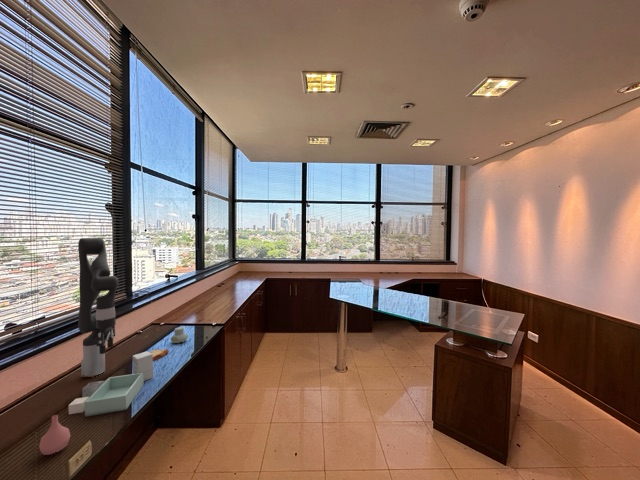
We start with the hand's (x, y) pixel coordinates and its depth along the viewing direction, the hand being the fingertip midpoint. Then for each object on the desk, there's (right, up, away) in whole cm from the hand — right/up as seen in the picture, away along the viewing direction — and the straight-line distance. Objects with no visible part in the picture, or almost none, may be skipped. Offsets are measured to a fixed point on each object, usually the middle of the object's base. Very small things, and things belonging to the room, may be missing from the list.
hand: (106, 350), depth 132 cm
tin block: (-3, -20, -4) cm, 20 cm away
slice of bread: (+1, -20, +36) cm, 41 cm away
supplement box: (+11, -19, +10) cm, 25 cm away
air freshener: (+3, -20, +63) cm, 66 cm away
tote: (+12, -19, -8) cm, 24 cm away
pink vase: (+14, -19, -39) cm, 46 cm away
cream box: (+1, -19, -16) cm, 25 cm away
